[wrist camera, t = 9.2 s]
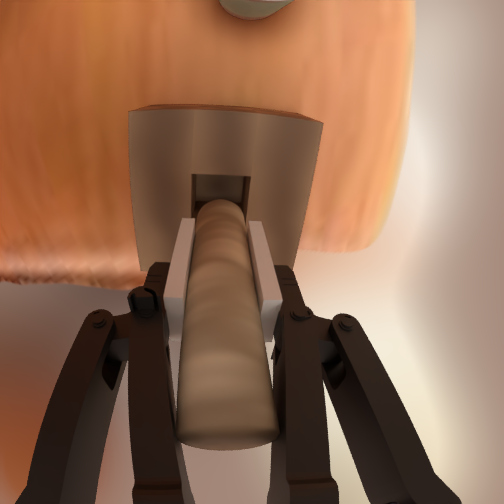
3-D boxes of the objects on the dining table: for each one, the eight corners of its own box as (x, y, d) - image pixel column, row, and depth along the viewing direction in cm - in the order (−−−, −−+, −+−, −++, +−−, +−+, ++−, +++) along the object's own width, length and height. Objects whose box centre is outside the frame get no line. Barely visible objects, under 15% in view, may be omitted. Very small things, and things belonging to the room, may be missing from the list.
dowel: (196, 240, 19) (181, 449, 7) (197, 198, 17) (169, 421, 6) (241, 242, 19) (269, 448, 8) (246, 201, 18) (291, 420, 6)
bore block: (154, 232, 29) (140, 270, 23) (152, 105, 21) (128, 111, 16) (277, 236, 31) (291, 275, 25) (298, 113, 23) (323, 123, 18)
